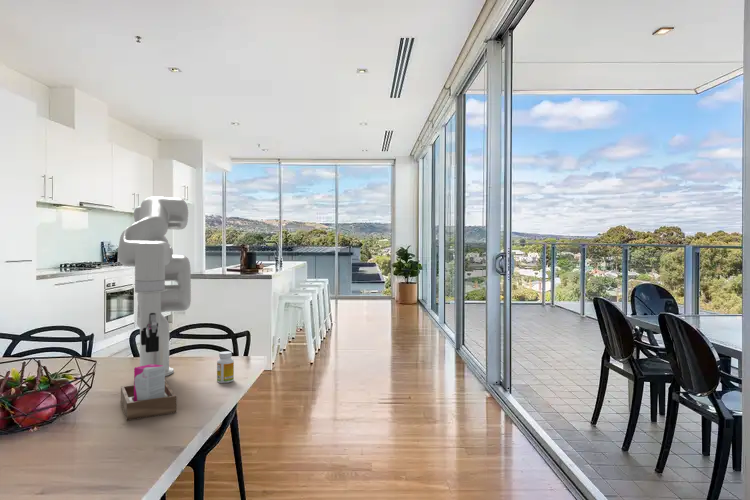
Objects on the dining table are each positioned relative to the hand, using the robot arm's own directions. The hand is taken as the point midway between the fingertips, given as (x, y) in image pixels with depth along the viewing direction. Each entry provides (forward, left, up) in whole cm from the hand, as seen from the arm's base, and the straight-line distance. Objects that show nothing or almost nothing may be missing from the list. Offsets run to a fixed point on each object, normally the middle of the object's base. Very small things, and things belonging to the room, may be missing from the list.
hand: (149, 348), depth 134 cm
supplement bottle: (-18, +26, -17) cm, 36 cm away
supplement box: (0, 0, -17) cm, 17 cm away
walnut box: (-2, 0, -17) cm, 17 cm away
